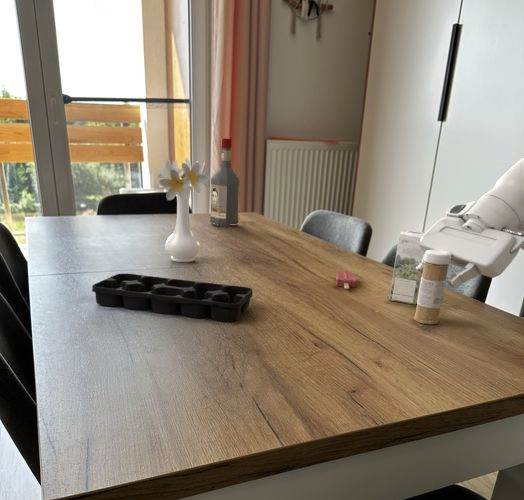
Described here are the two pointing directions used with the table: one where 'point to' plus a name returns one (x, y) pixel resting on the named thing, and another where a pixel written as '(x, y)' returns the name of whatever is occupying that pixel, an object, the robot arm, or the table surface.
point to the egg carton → (173, 296)
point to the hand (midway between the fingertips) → (434, 278)
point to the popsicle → (345, 279)
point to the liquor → (225, 190)
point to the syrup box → (407, 268)
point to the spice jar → (432, 286)
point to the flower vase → (183, 206)
